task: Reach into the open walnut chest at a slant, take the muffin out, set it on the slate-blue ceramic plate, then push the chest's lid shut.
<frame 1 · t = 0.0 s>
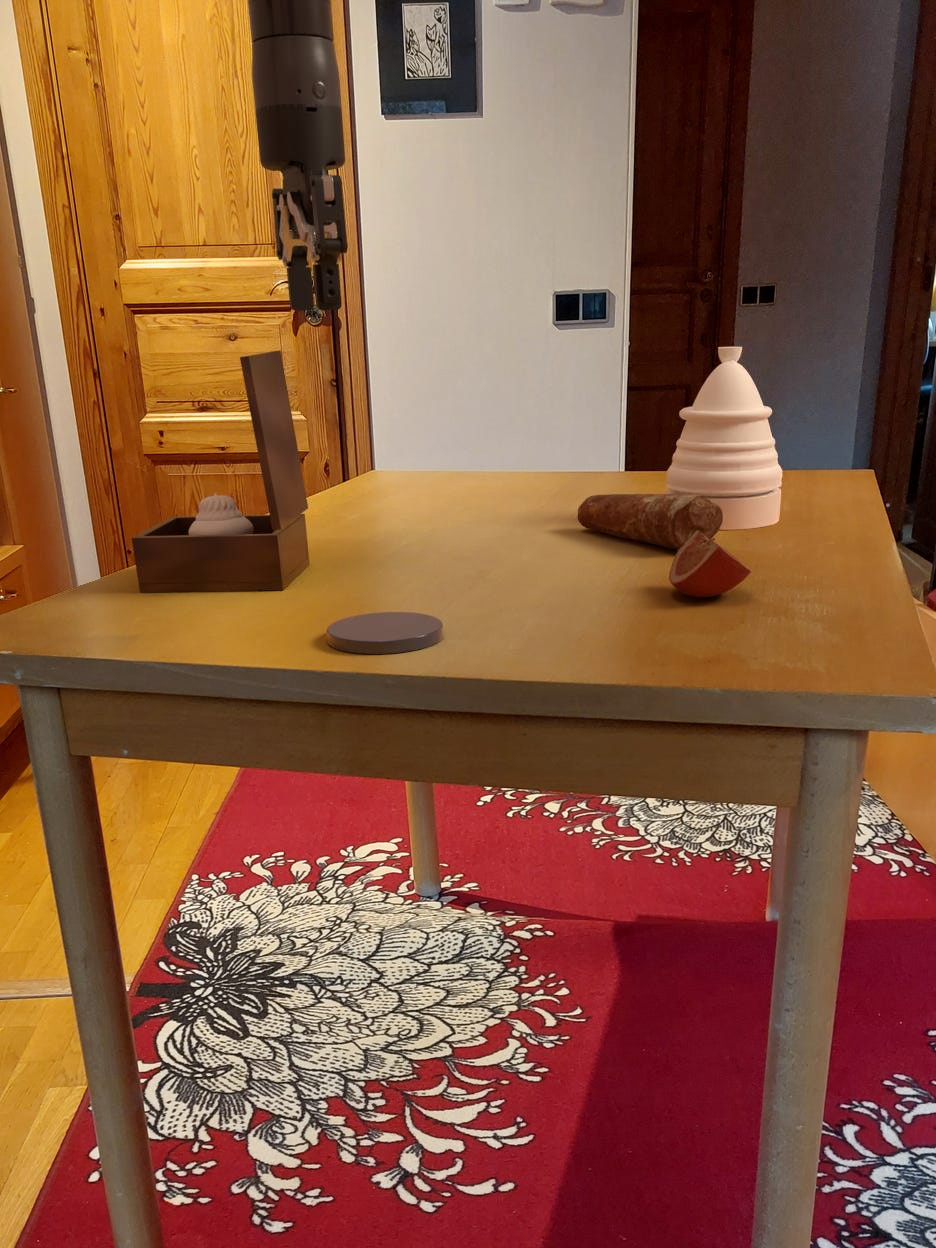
hand: (315, 310, 109), 23 cm above the table, tool pointing down, fingers open, 8 cm apart
honey pot: (721, 521, 133), on the table
bread: (637, 543, 123), on the table
fruit slice: (707, 597, 101), on the table
muffin: (227, 570, 113), point 1 cm above the table, touching chest
lid: (276, 438, 107), point 13 cm above the table, hinge at 85.0°
chest: (228, 577, 113), on the table
plate: (385, 638, 91), on the table
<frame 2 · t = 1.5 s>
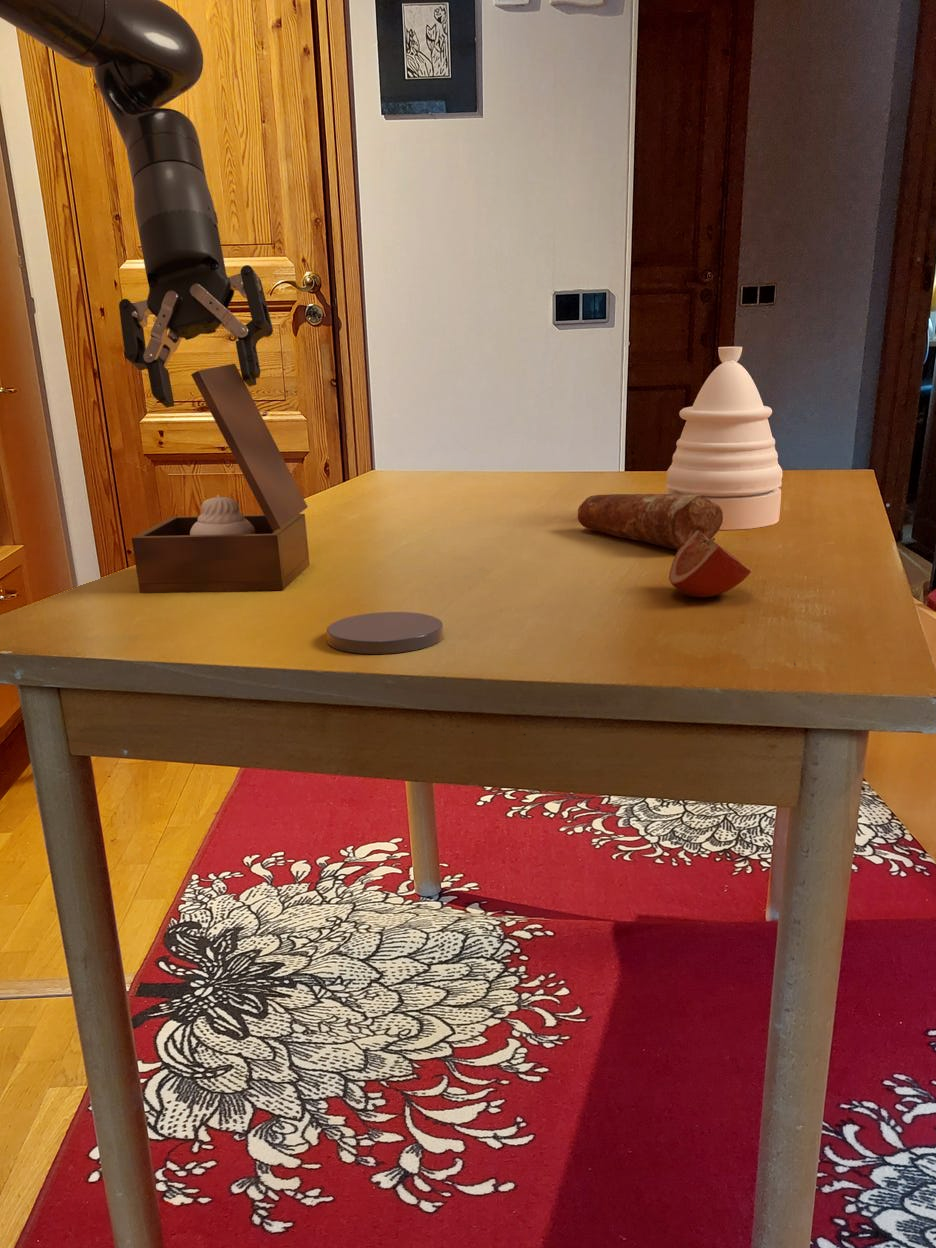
hand: (208, 393, 112), 16 cm above the table, tool tilted 25°, fingers open, 8 cm apart
lid: (253, 445, 108), point 12 cm above the table, hinge at 66.7°
everything else where it was.
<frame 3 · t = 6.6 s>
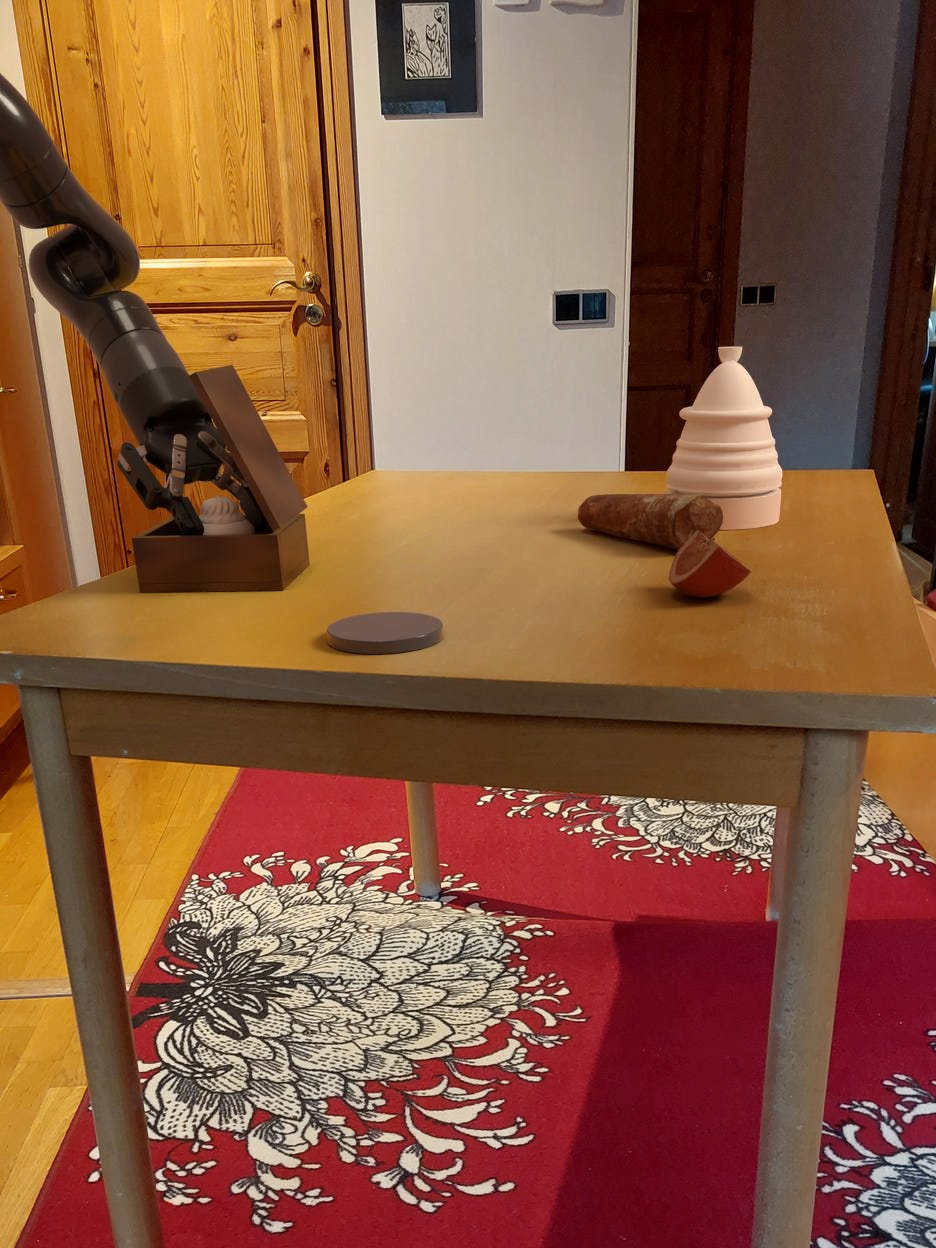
hand: (231, 531, 110), 5 cm above the table, tool tilted 45°, fingers closed on muffin, 6 cm apart
muffin: (227, 571, 113), point 1 cm above the table, touching chest, gripper
lid: (252, 446, 108), point 12 cm above the table, hinge at 65.7°
everything else where it was.
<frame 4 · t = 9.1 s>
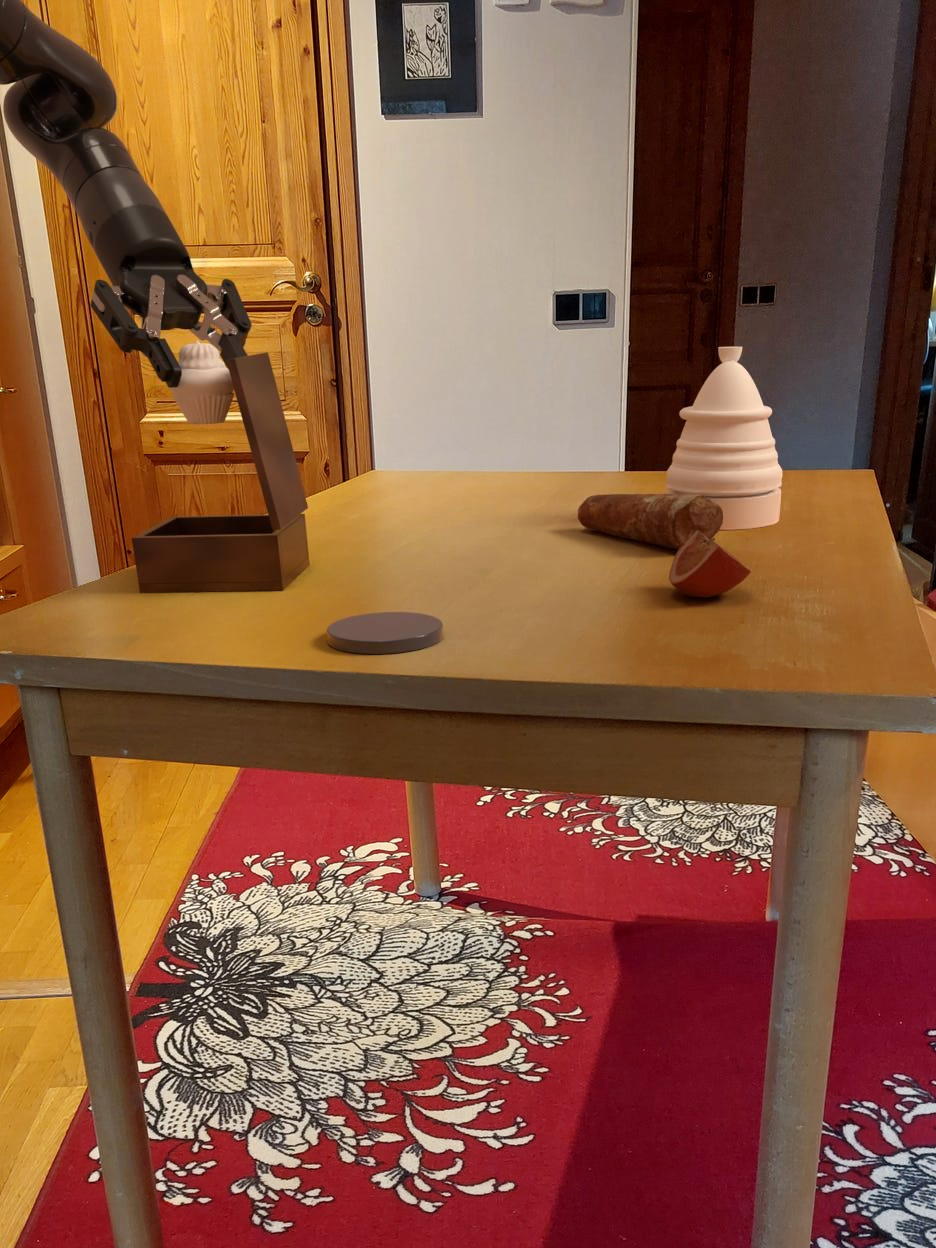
hand: (210, 378, 105), 18 cm above the table, tool tilted 45°, fingers closed on muffin, 6 cm apart
muffin: (206, 425, 107), point 14 cm above the table, touching gripper
lid: (270, 439, 107), point 13 cm above the table, hinge at 80.2°
everything else where it was.
when the fingers open (5 cm above the table, at t = 19.0 s): muffin stays where it is, resting on plate.
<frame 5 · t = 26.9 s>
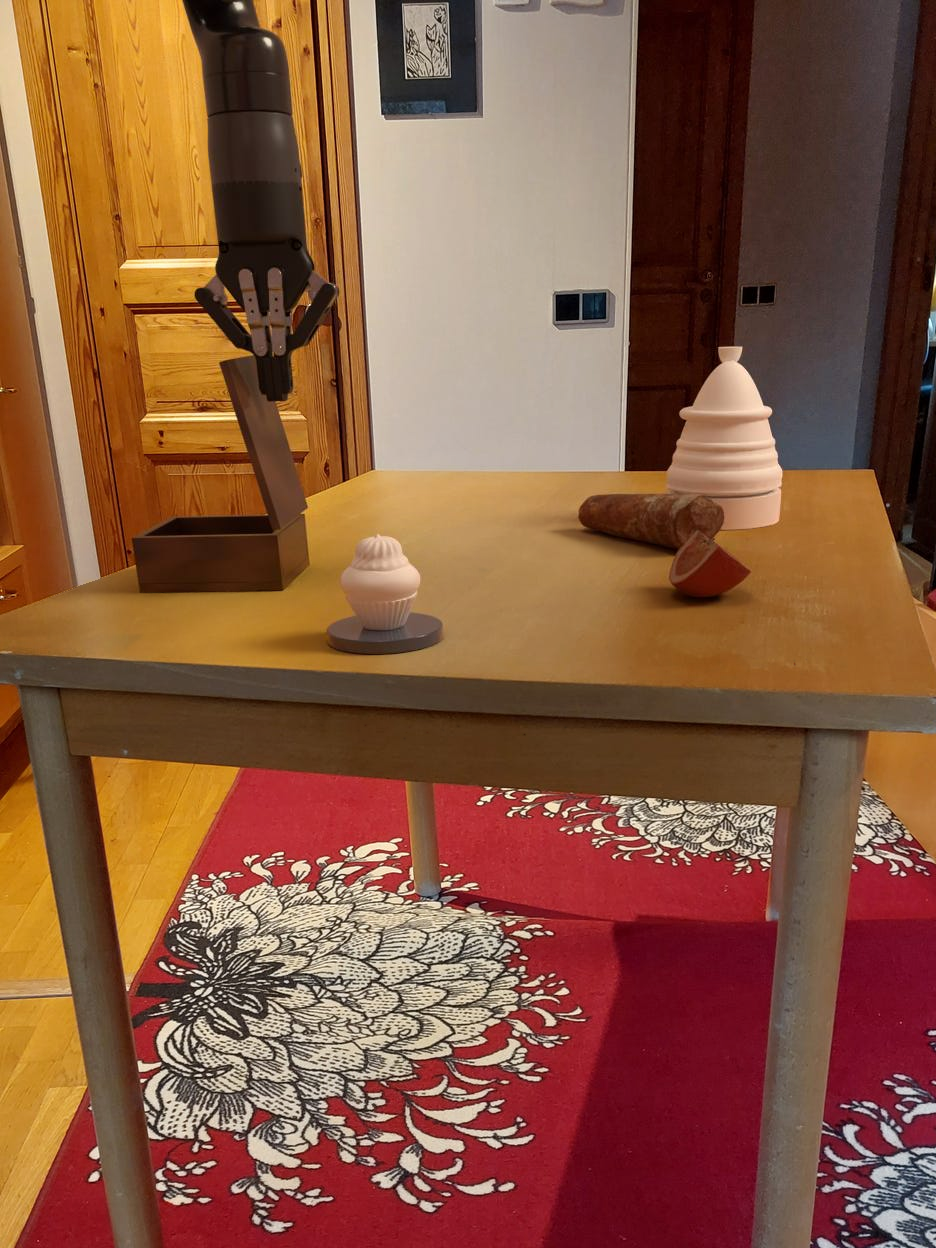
hand: (278, 400, 106), 16 cm above the table, tool pointing down, fingers closed
muffin: (383, 628, 91), point 1 cm above the table, touching plate
lid: (266, 440, 108), point 13 cm above the table, hinge at 77.5°, touching gripper
everything else where it was.
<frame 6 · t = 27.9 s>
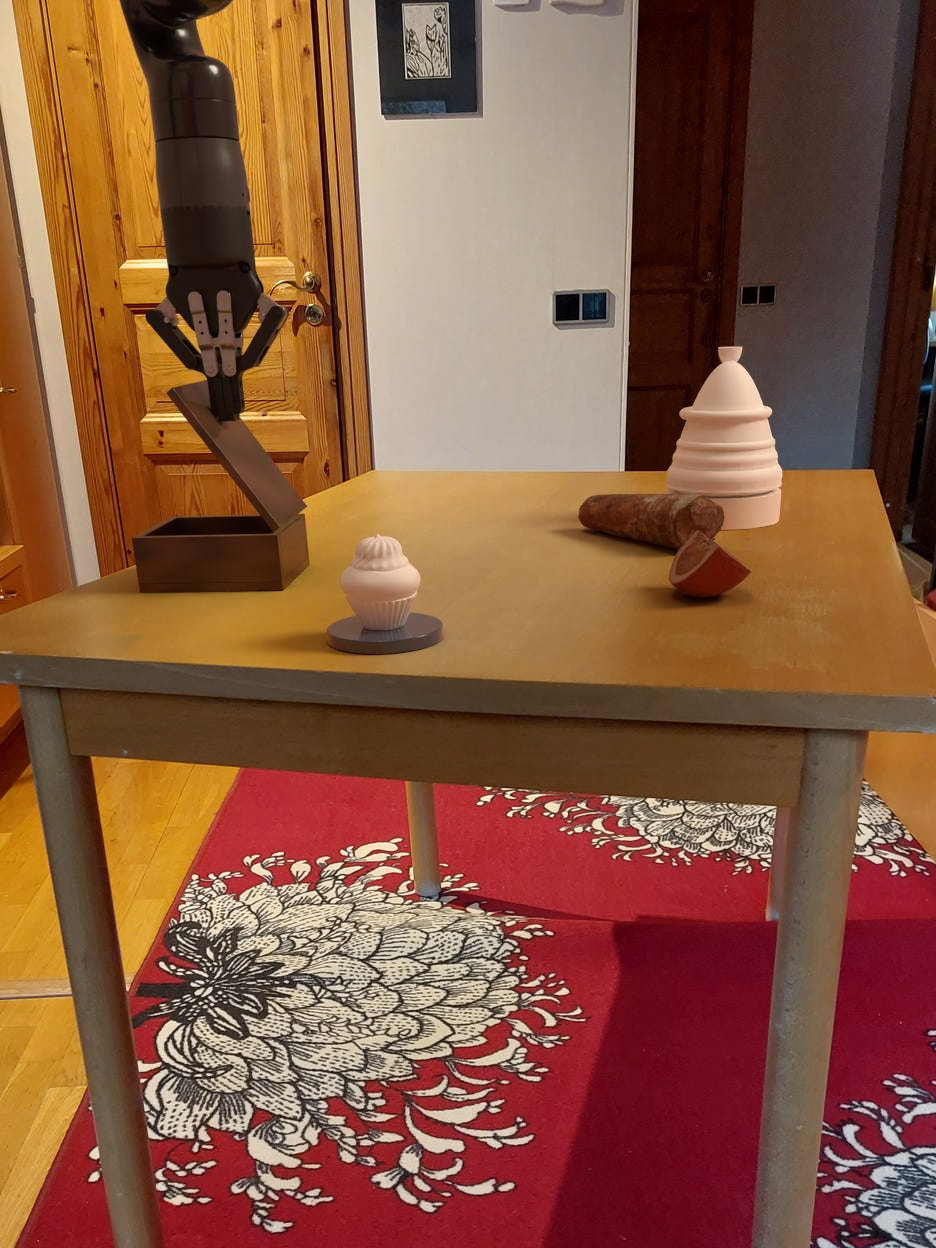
hand: (229, 420, 107), 14 cm above the table, tool pointing down, fingers closed
lid: (241, 453, 108), point 11 cm above the table, hinge at 55.6°, touching gripper
everything else where it was.
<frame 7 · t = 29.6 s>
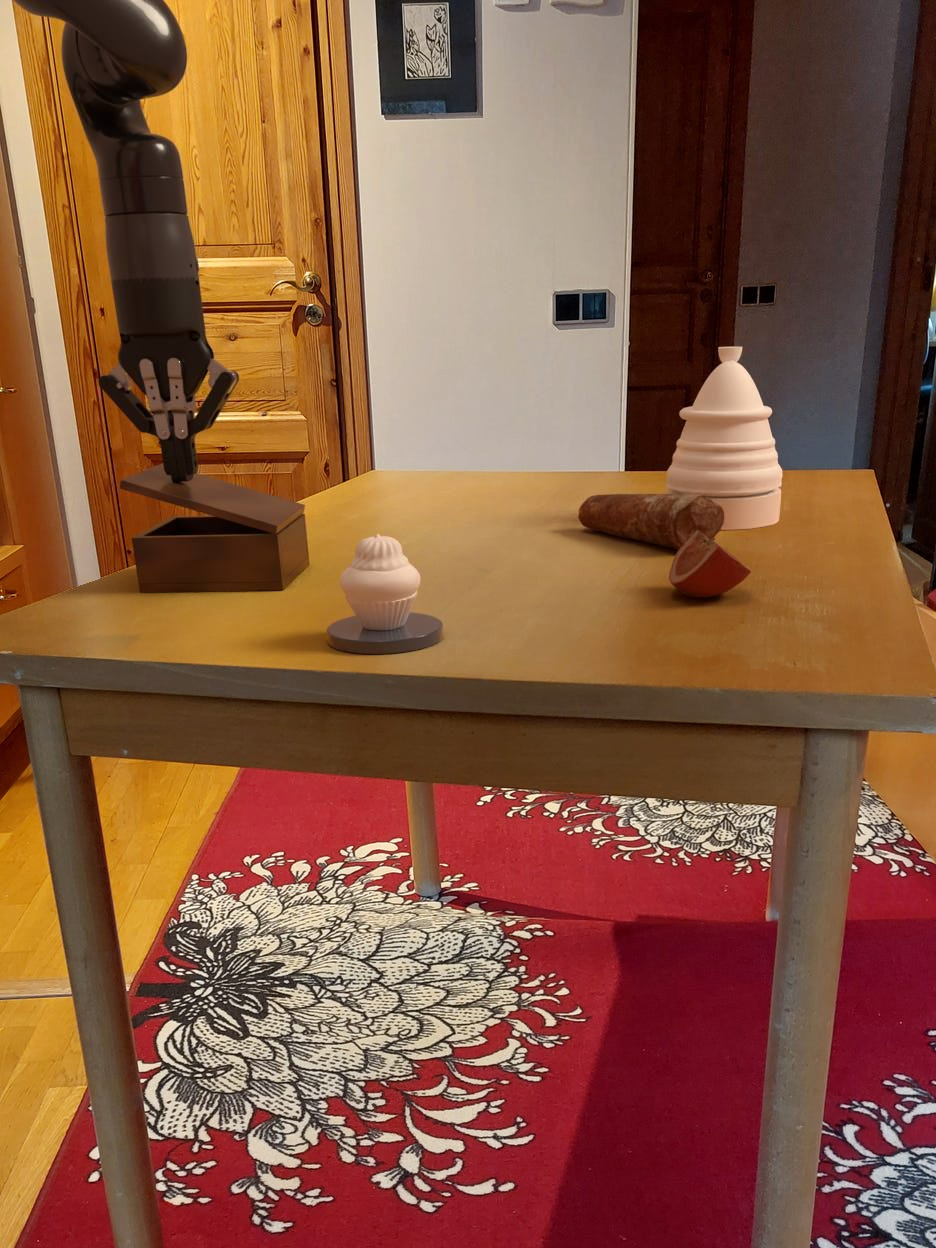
hand: (183, 480, 110), 9 cm above the table, tool pointing down, fingers closed
lid: (216, 497, 110), point 8 cm above the table, hinge at 17.1°
everything else where it was.
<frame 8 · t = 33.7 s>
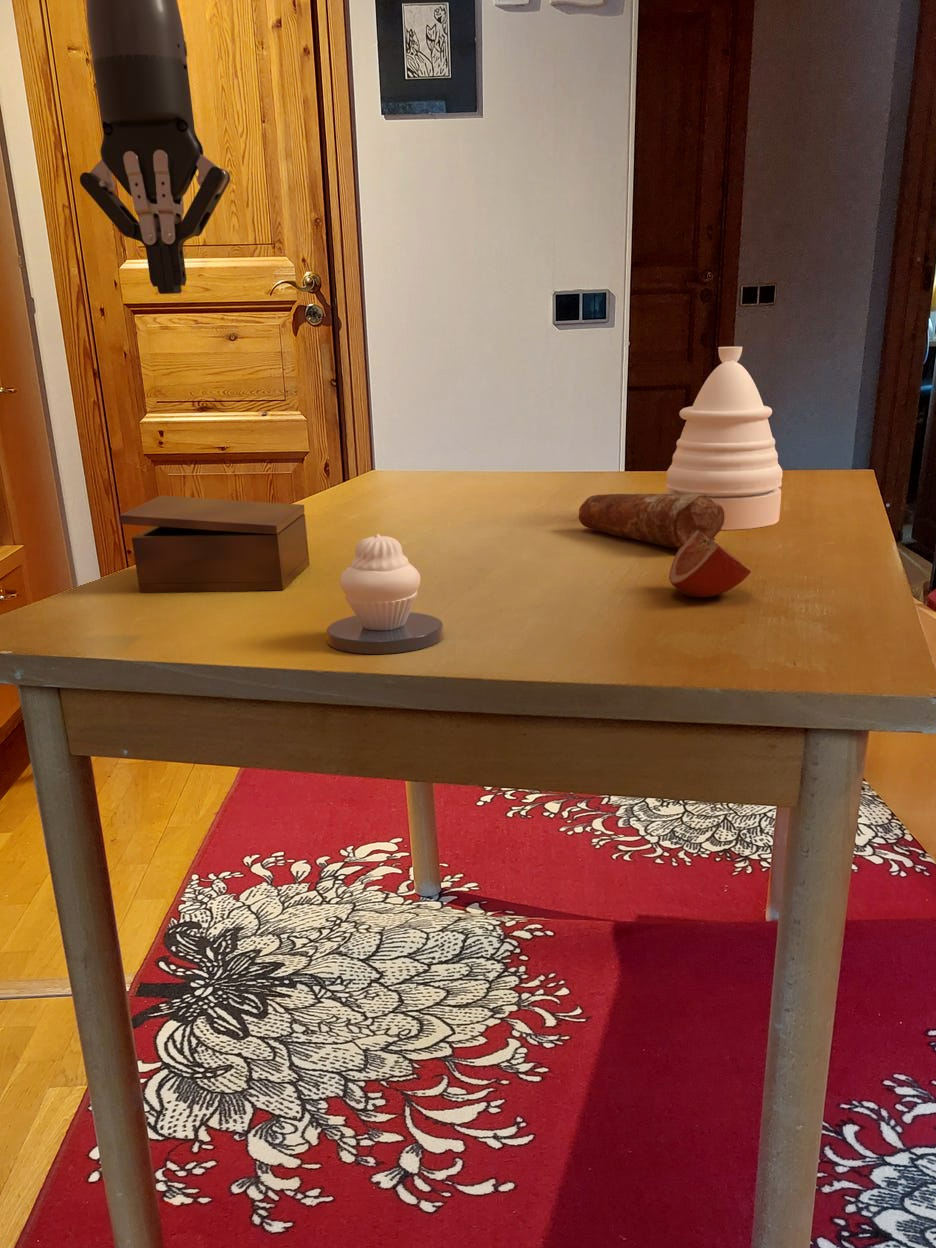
hand: (170, 293, 103), 25 cm above the table, tool pointing down, fingers closed
lid: (215, 514, 111), point 6 cm above the table, hinge at 4.7°
everything else where it was.
at the end: muffin 0.1 cm off-centre on the plate, point 0.8 cm above the plate's base; the gripper is holding nothing; lid at +5° (first picture: +85°) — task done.
